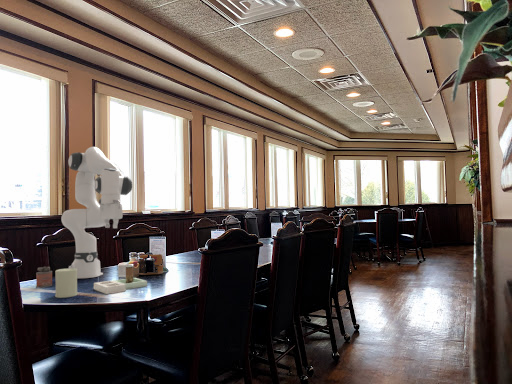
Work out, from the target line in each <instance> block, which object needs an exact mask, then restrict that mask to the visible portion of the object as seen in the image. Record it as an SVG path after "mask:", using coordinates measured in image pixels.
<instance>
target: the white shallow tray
mask: <svg viewBox="0 0 512 384" xmlns="http://www.w3.org/2000/svg"><path fill="white" fill-rule="evenodd" d="M93 290H95V291H97V292H99V293H100V292H101V293H103V294H106V295H109V294H114V293H115V294H116V293H120V292H125V291H126V289H125V284H122V283H118V282H115V281H114V280H106V281H99V282H93Z"/></svg>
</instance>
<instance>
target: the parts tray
mask: <svg viewBox="0 0 512 384" xmlns="http://www.w3.org/2000/svg"><path fill="white" fill-rule="evenodd" d="M113 281H115V282H118V283H122V284H125V283H126V278H122V279H115V280H113ZM147 286H148V280H145V279H141V278H137V277H133V283H126V284H125V290H130V289H136V288H143V287H144V288H145V287H147Z"/></svg>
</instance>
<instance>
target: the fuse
mask: <svg viewBox="0 0 512 384" xmlns="http://www.w3.org/2000/svg"><path fill="white" fill-rule="evenodd" d="M124 267H125V279H126V283H133V278H134V267H135V265H134V264H133V263H130V264H129V263H128V264H124ZM126 283H125V284H126Z"/></svg>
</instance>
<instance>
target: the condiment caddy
mask: <svg viewBox="0 0 512 384" xmlns="http://www.w3.org/2000/svg"><path fill="white" fill-rule="evenodd" d="M148 255H149V256H151V257H152V258H154V259H156V261H155V263H154V264H155V267H156V269H157V270H156V272H147V273H139V272H138V275H142V276H143V275H160V274H164V264H163V255H162V254H161V253H158V254H140V255H139V256H140V258H143V259H145V258H147V257H148ZM161 264H162V265H161Z"/></svg>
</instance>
